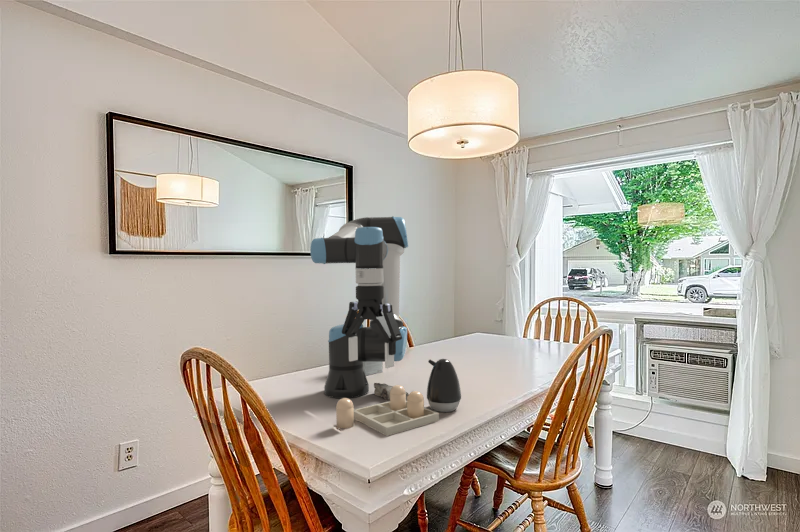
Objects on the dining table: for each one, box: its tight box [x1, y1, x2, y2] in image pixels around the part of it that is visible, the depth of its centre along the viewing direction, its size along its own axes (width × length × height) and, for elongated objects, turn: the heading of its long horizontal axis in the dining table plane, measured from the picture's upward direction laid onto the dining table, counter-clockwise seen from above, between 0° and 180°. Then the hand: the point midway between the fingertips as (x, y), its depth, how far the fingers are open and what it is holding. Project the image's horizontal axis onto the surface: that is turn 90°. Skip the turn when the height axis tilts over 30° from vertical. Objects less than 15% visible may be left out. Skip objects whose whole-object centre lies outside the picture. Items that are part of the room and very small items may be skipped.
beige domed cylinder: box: [390, 384, 407, 411], centre depth 129 cm, size 5×5×8 cm
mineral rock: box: [373, 382, 410, 402], centre depth 145 cm, size 15×8×4 cm, turn 31°
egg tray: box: [354, 400, 440, 437], centre depth 124 cm, size 17×17×2 cm
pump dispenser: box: [426, 358, 462, 413], centre depth 132 cm, size 10×10×15 cm
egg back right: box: [406, 390, 425, 419], centre depth 123 cm, size 5×5×8 cm
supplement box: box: [363, 362, 384, 376], centre depth 181 cm, size 10×9×17 cm
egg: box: [335, 398, 355, 431], centre depth 119 cm, size 5×5×8 cm
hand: (370, 363), depth 120 cm, fingers open, 13 cm apart
